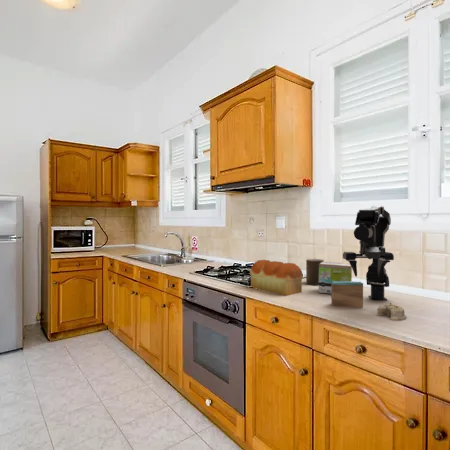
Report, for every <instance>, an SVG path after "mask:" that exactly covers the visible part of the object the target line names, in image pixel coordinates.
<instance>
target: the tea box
mask: <svg viewBox="0 0 450 450" xmlns="http://www.w3.org/2000/svg"><path fill="white" fill-rule="evenodd" d="M352 271H353V269H352V267H351V265H350V263H349V262H348V263H345V262H335V261H334V262H331V261H324V262H321V263H320V264H319V284H318V285H317V286H318V293H321V294H322V293H325V294H331V281H352V280H353V272H352Z"/></svg>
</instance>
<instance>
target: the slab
mask: <svg viewBox="0 0 450 450" xmlns="http://www.w3.org/2000/svg"><path fill="white" fill-rule="evenodd" d="M330 298H331V299H330V301H331V302H330V303H331V305H332V306H333V307H345V308H346V307H351V308H364V282H361V281H331V293H330Z"/></svg>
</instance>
